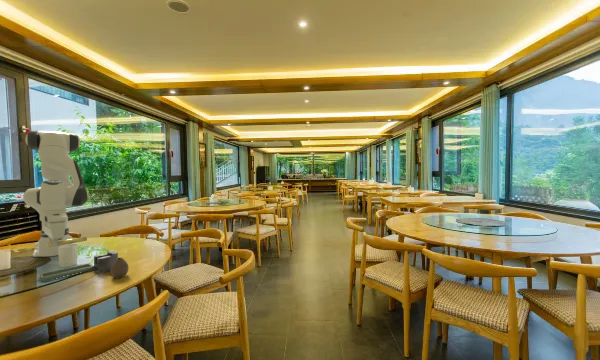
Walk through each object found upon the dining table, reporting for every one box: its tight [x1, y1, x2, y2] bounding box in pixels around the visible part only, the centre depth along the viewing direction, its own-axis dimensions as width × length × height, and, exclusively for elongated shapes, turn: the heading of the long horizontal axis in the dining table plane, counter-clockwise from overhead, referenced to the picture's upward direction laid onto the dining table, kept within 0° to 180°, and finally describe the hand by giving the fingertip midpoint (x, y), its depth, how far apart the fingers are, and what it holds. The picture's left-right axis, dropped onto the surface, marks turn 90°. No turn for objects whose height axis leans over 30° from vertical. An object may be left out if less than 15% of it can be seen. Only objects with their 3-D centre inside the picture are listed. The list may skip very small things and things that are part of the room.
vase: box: [110, 257, 129, 279], centre depth 122 cm, size 7×7×9 cm
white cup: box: [57, 243, 79, 268], centre depth 136 cm, size 8×8×10 cm
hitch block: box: [93, 249, 119, 274], centre depth 131 cm, size 7×8×8 cm
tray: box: [38, 262, 95, 283], centre depth 124 cm, size 7×18×2 cm, turn 143°
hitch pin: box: [47, 236, 88, 247], centre depth 124 cm, size 14×2×2 cm, turn 143°
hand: (53, 245), depth 120 cm, fingers closed on hitch pin, 2 cm apart
